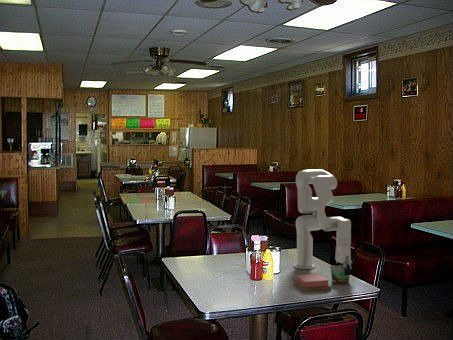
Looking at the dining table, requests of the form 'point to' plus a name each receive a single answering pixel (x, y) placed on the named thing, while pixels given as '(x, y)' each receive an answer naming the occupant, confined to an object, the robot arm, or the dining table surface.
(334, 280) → the food container
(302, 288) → the walnut slab
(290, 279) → the dining table surface
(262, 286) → the dining table surface
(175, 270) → the dining table surface
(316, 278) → the pink square slab
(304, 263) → the robot arm
